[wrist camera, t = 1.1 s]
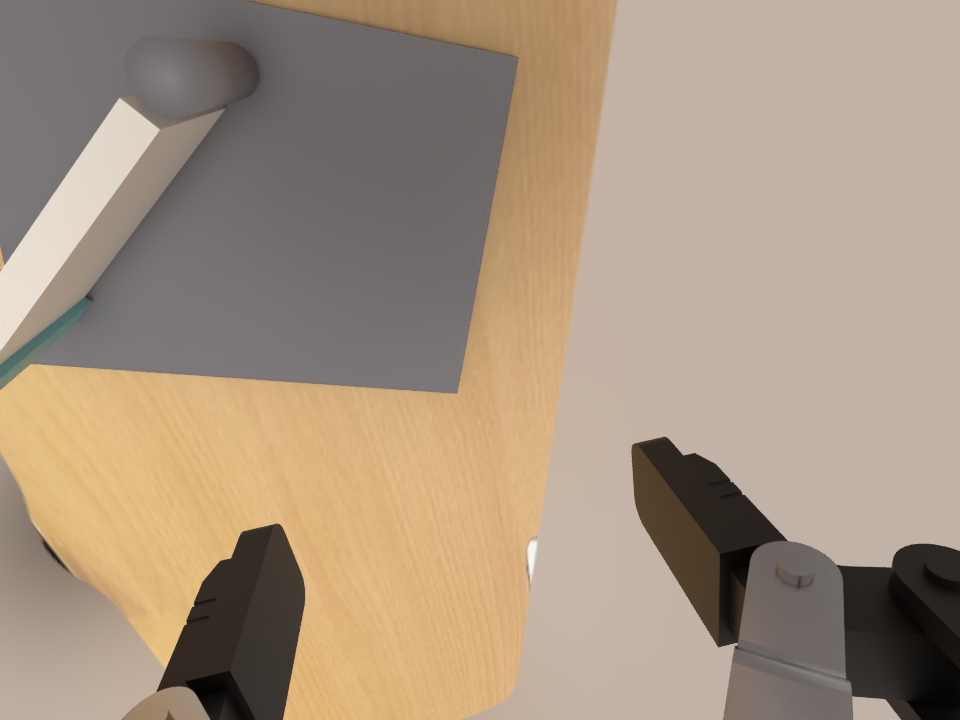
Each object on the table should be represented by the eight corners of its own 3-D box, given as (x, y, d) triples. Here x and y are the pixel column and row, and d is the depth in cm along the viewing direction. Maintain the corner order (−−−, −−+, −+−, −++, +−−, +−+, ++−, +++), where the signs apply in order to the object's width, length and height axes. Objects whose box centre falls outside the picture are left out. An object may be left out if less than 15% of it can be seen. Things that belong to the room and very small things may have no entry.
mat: (-54, -61, 23) (-71, -66, 22) (514, 57, 29) (518, 57, 28) (36, 355, 32) (26, 363, 31) (455, 385, 38) (457, 393, 37)
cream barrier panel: (223, 29, 25) (138, 15, 16) (268, 71, 26) (211, 79, 17) (29, 301, 29) (-120, 403, 21) (74, 327, 30) (-49, 436, 22)
